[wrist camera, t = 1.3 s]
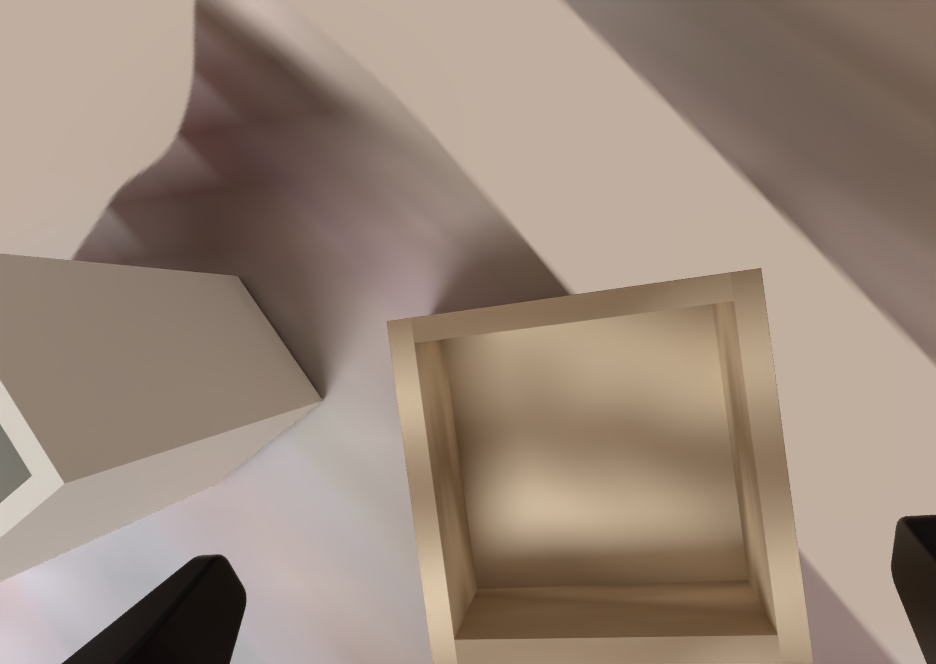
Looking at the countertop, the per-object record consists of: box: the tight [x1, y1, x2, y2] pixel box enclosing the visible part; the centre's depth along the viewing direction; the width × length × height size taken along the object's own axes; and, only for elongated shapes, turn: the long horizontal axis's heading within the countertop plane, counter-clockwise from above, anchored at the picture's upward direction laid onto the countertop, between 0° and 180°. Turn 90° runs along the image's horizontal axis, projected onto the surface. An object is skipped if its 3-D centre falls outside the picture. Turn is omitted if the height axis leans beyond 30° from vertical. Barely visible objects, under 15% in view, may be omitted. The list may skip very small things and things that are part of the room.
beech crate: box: [387, 268, 813, 664], centre depth 20 cm, size 11×11×4 cm
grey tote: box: [0, 254, 323, 582], centre depth 20 cm, size 6×6×12 cm
